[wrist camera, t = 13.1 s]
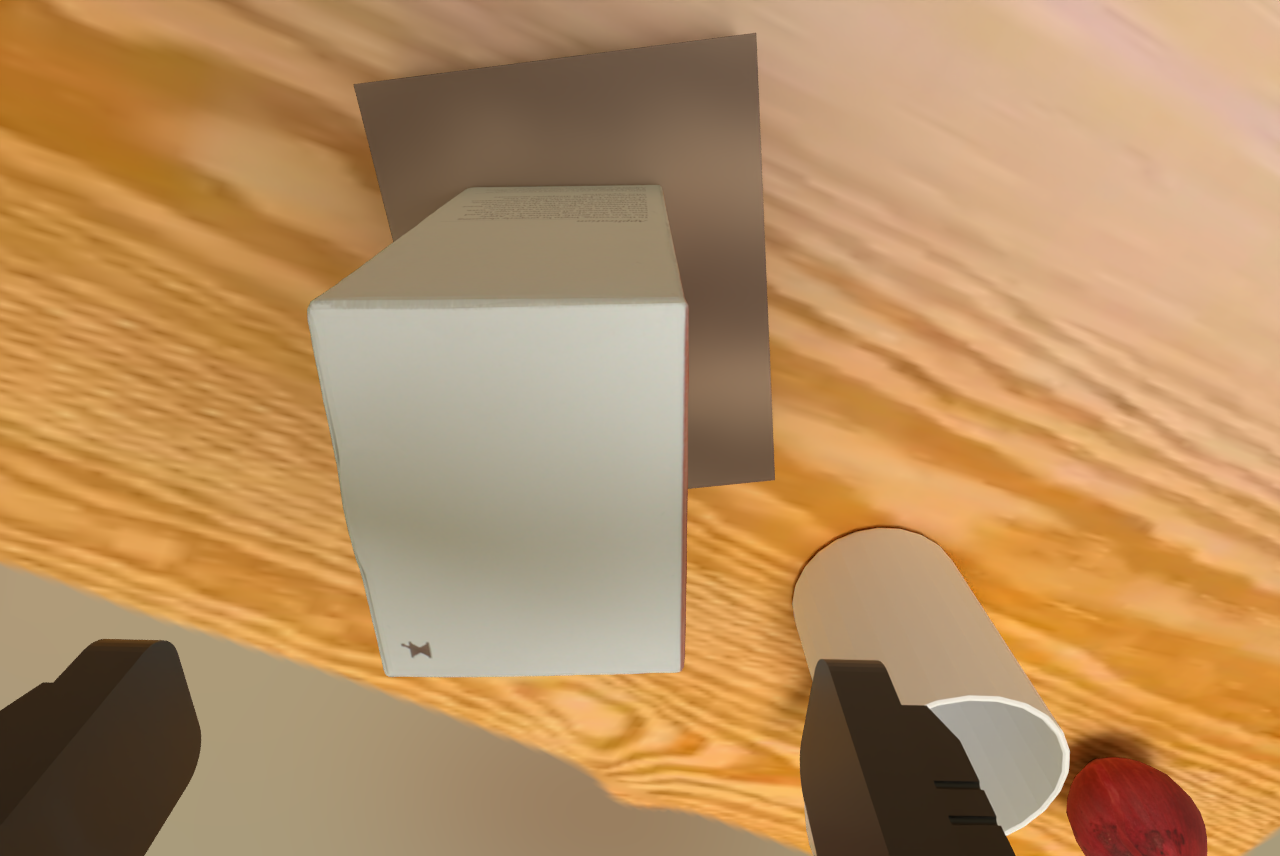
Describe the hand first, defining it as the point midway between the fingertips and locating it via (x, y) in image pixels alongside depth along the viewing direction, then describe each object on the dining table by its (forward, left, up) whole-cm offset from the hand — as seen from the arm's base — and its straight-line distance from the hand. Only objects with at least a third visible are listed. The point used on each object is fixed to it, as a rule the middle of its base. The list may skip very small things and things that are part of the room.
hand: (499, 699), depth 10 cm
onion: (+26, +28, -22) cm, 44 cm away
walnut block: (0, 0, -23) cm, 23 cm away
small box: (0, 0, -18) cm, 18 cm away
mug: (+17, +13, -22) cm, 31 cm away
